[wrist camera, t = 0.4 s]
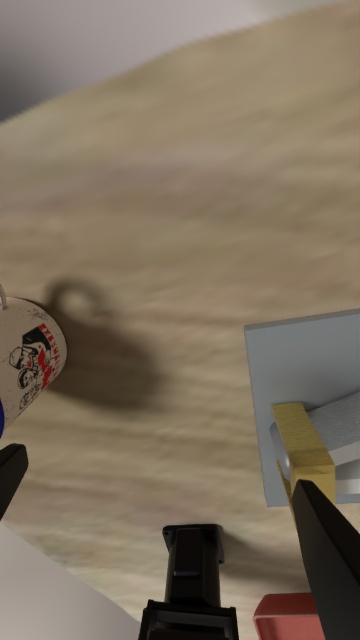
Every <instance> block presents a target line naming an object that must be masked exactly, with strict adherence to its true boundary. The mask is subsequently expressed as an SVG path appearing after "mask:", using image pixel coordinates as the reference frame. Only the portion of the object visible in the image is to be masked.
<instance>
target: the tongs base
mask: <svg viewBox="0 0 360 640" xmlns="http://www.w3.org/2000/svg"><path fill="white" fill-rule="evenodd" d="M244 333H245V341H246V349H247V357H248V364H249V372H250V380H251V388H252V396H253V404H254V412H255V420H256V428H257V436H258V444H259V452H260V460H261V468H262V475H263V483H264V491H265V498H266V503H267V507H281V506H289V503H288V500H287V497H286V494H285V490H284V487H283V484H282V481H281V477H280V474H279V471H278V467H277V461H276V460H279V462H280V465H281V468H282V471H283V475H284V477H285V478H286V479H287V480H288V481H290V482H291V480H290V468H289V458H288V455H287V452H286V449H285V447H284V444H283V441H282V439H281V436H280V433H279V430H278V428H277V425H276V422H275V419H274V417H273V414H272V410H271V405H276V404H285V403H295V402H301V404H302V405H303V407H304V409H305V411H306V413H307V412H309V411H312V410H315V409H317V408H320V407H322V406H325V405H328V404H330V403H333V402H335V401H338V400H341V399H343V398H346V397H348V396H351V395H354V394H356V393H359V392H360V309H353V310H347V311H340V312H334V313H327V314H320V315H314V316H307V317H300V318H294V319H287V320H280V321H274V322H267V323H261V324H254V325H247V326H244ZM344 503H360V458H359V459H356V460H353V461H350V462H347V463H344V464H340V465H337V466H335V504H344Z"/></svg>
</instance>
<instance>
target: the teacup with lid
mask: <svg viewBox="0 0 360 640" xmlns="http://www.w3.org/2000/svg"><path fill="white" fill-rule="evenodd" d="M66 356H67V347H66V342H65V338H64V336H63V333H62V331H61V329H60V328H59V326H58V325H57V323H56V322H55V321H54V319H53V318H52V317H51V316H50V315H49V314H48V313H47V312H45V311H44V310H43V309H41V308H40V307H38V306H37V305H35V304H33V303H31V302H28V301H26V300H22V299H18V298H11V297H6V296H5V292H4V289H3V287H2V285H1V284H0V438H1V436H2V433H3V432H4V430H5V429H6V428H7V427H8V426H9V425H10V424H11V423H12V422H13V421H14V420H15V419H16V418H17V417H18V416H19V415H20V414H21V413H22V412H23V411H24V410H25V409H26V408H27V407H28V406H29V405H30V404H31V403H32V402H33V401H34V399H35V398H36V397H37V396H38V395H39V394H40V393H41V392H42V391H43V390H44V389H45V388H46V387H47V386H48V385H49V384H50V383H51V382H52V381H53V380H54V379H55V378H56V377H57V376H58V375H59V373H60V372H61V370H62V369H63V367H64V365H65V362H66Z"/></svg>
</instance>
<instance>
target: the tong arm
mask: <svg viewBox="0 0 360 640" xmlns="http://www.w3.org/2000/svg"><path fill="white" fill-rule="evenodd" d="M307 415H308V416H309V418H310V420H311V422H312V424H313V425H314V427H315V429H316V431H317V433H318V435H319V436H320V438H321V440H322V442H323V444H324V445H325V447H326V449H327V451H328V453H329V454H330V456H331V458H332V460H333V462H334V464H335V466H337V465H340V464H344V463H347V462H350V461H353V460H356V459H359V458H360V392H359V393H356V394H354V395H351V396H348V397H346V398H343V399H341V400H338V401H335V402H333V403H330V404H328V405H325V406H322V407H320V408H317V409H315V410H312V411H309V412H307Z"/></svg>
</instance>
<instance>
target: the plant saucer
mask: <svg viewBox="0 0 360 640" xmlns="http://www.w3.org/2000/svg"><path fill="white" fill-rule="evenodd" d="M253 622H254V625H255V628H256V631H257V634H258V637H259V640H325V637H324V634H323V630H322V627H321V623H320V620H319V616H318V613H317V609H316V606H315V602H314V599H313V595H312V593H292V594H268V595H265V596H264V597H263V599H262V600H261V602H260V603H259V605H258V607H257V609H256V611H255V614H254V617H253Z"/></svg>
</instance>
